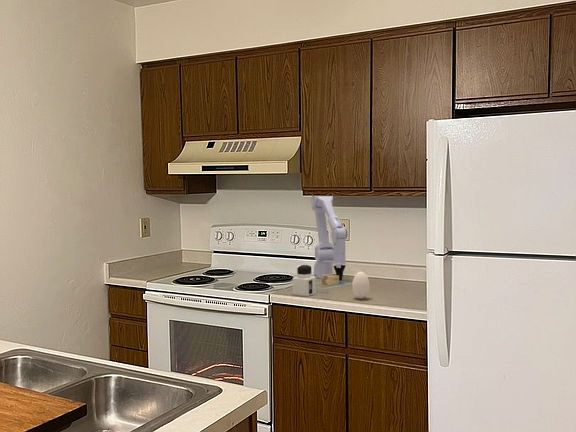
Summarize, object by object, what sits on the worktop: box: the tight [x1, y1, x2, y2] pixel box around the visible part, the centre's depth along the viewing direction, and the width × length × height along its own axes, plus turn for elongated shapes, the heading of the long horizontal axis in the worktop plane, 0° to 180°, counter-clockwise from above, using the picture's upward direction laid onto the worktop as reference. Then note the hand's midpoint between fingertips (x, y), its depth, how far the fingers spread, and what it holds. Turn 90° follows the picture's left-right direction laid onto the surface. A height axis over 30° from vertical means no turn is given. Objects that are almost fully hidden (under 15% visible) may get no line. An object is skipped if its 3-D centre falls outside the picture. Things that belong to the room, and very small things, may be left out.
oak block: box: [321, 273, 339, 286], centre depth 291 cm, size 6×6×4 cm
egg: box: [351, 271, 371, 300], centre depth 260 cm, size 7×7×12 cm
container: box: [292, 264, 317, 297], centre depth 271 cm, size 8×8×13 cm
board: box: [316, 280, 353, 290], centre depth 290 cm, size 14×21×1 cm, turn 131°
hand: (339, 280), depth 293 cm, fingers closed
